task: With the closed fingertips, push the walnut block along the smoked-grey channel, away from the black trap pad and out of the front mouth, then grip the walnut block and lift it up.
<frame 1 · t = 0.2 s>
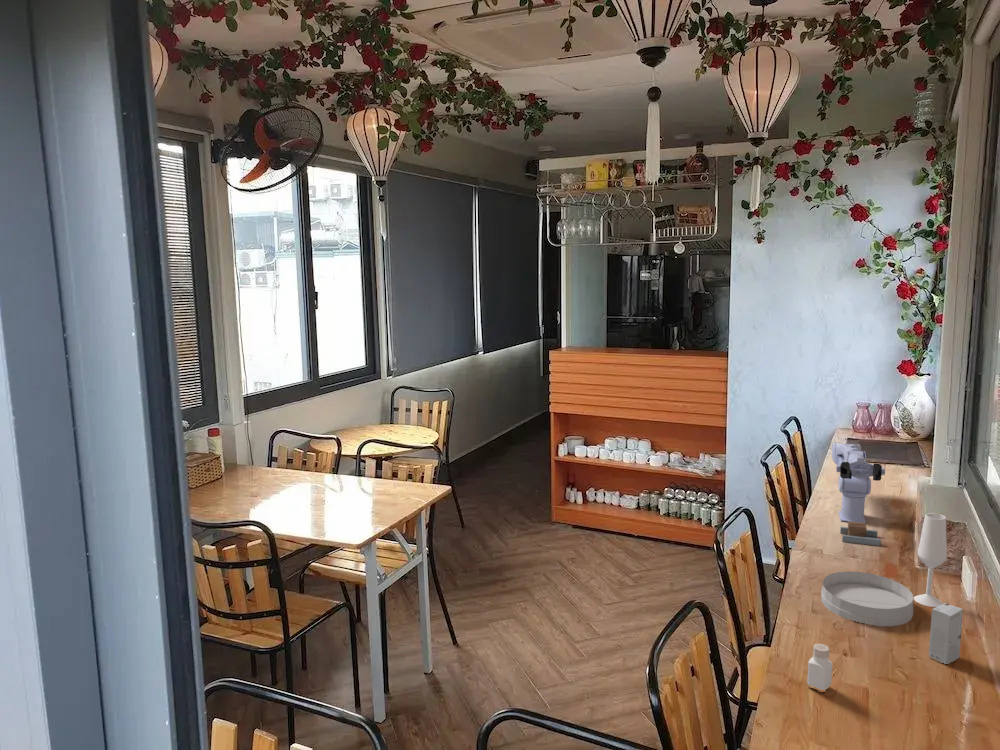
hand: (863, 476, 237), 21 cm above the bar counter, tool horizontal, fingers open, 7 cm apart
acrylic channel: (859, 539, 241), on the bar counter
dish: (865, 607, 197), on the bar counter
pepper shaker: (818, 688, 161), on the bar counter
champagne flute: (927, 601, 199), on the bar counter
skincare box: (943, 658, 172), on the bar counter
walnut block: (856, 538, 241), on the bar counter
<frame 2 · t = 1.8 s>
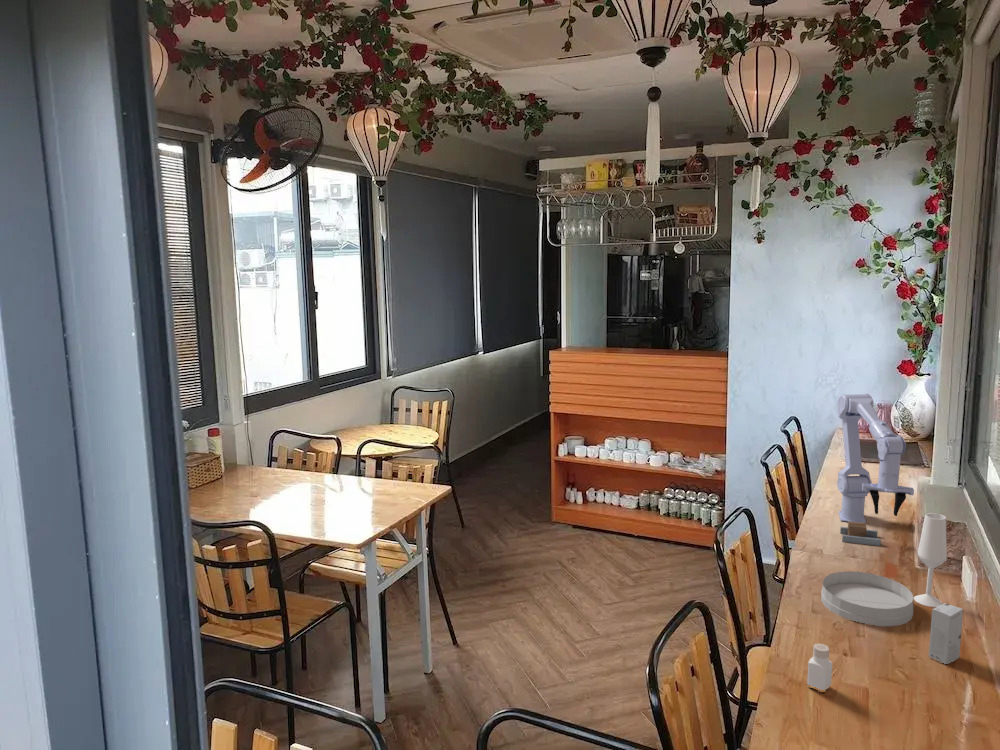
hand: (885, 513, 237), 9 cm above the bar counter, tool pointing down, fingers open, 5 cm apart
nothing on the bar counter moved.
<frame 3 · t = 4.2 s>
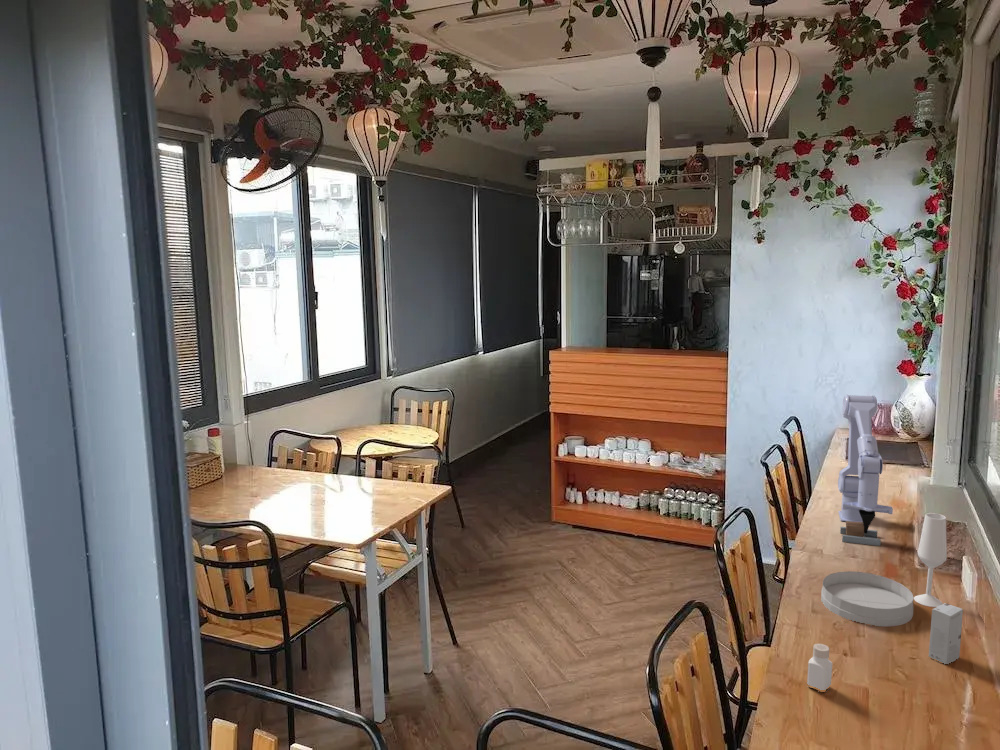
hand: (865, 532, 240), 3 cm above the bar counter, tool pointing down, fingers closed, pressing on walnut block
walnut block: (854, 538, 241), on the bar counter, touching gripper
everything else where it was.
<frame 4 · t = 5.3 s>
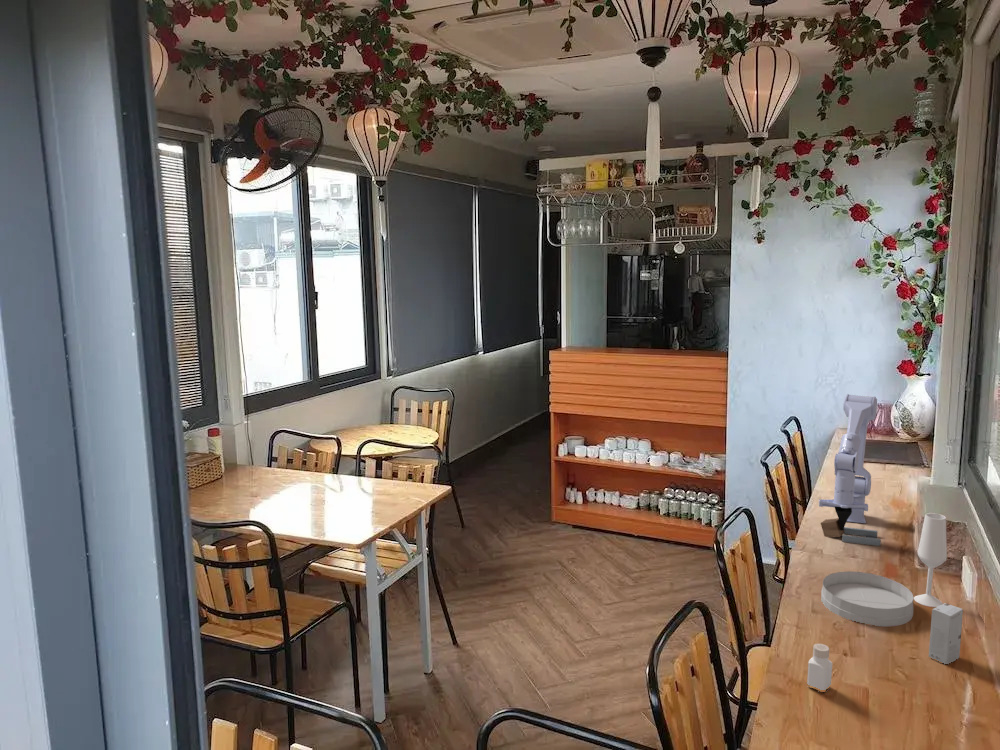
hand: (841, 529, 242), 3 cm above the bar counter, tool pointing down, fingers closed, pressing on walnut block
walnut block: (834, 535, 244), on the bar counter, tilted 20°, touching gripper
everything else where it was.
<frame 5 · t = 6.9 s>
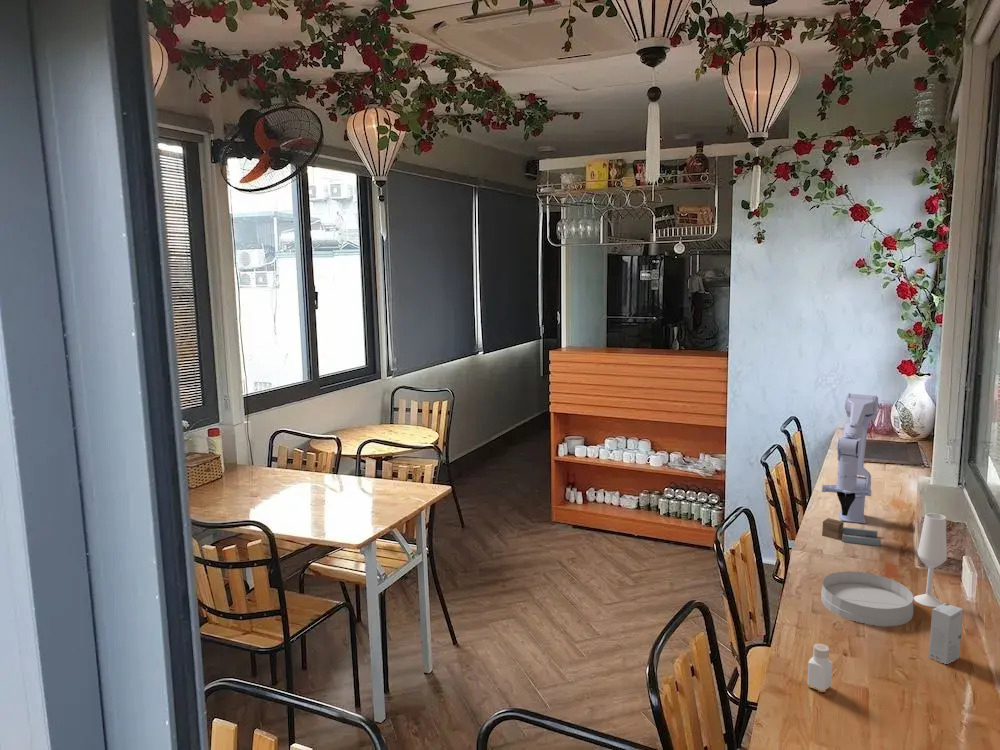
hand: (844, 514, 241), 8 cm above the bar counter, tool pointing down, fingers closed
walnut block: (832, 535, 244), on the bar counter
everything else where it was.
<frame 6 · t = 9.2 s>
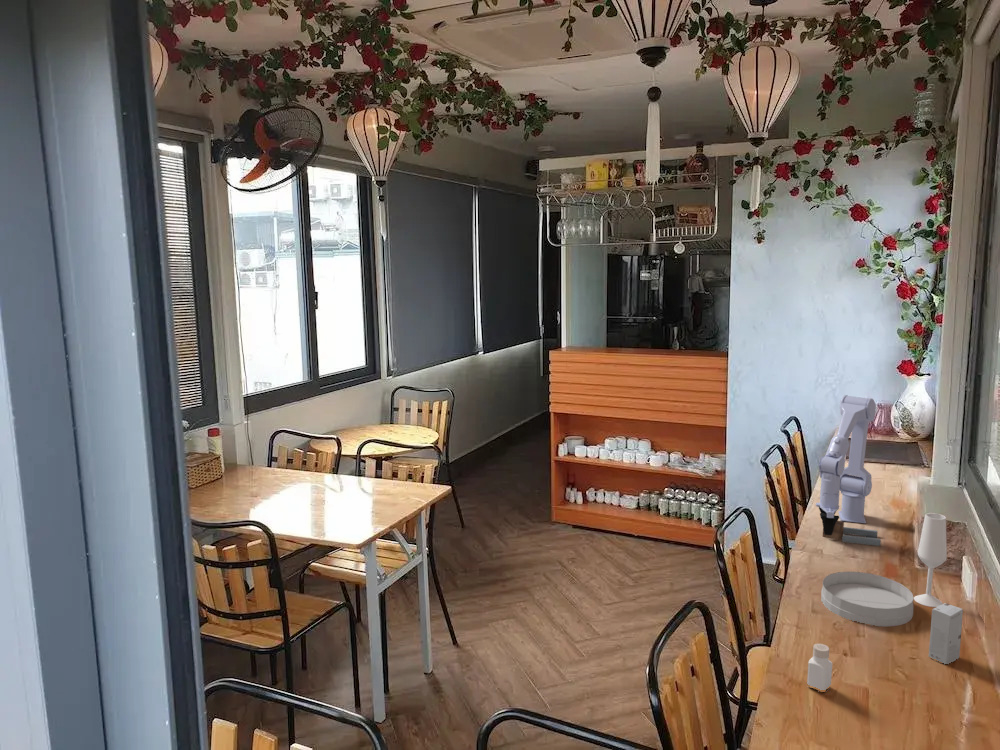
hand: (827, 531, 244), 1 cm above the bar counter, tool pointing down, fingers closed on walnut block, 5 cm apart
walnut block: (832, 536, 244), on the bar counter, touching gripper
everything else where it was.
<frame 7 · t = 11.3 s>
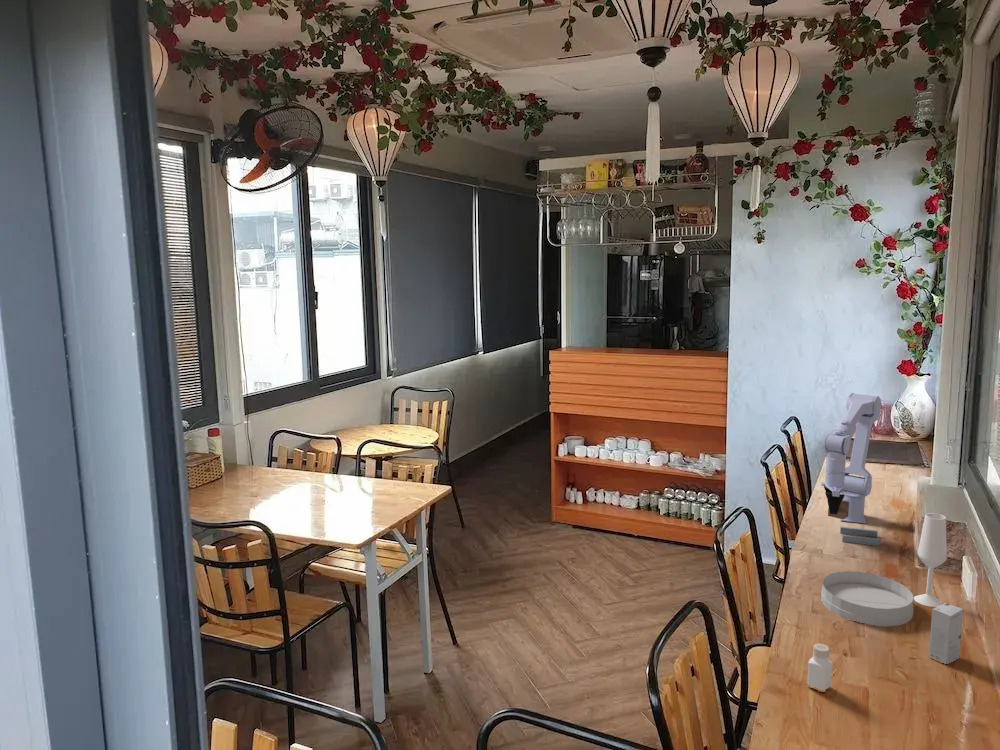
hand: (832, 510, 243), 8 cm above the bar counter, tool pointing down, fingers closed on walnut block, 5 cm apart
walnut block: (837, 516, 243), point 7 cm above the bar counter, touching gripper
everything else where it was.
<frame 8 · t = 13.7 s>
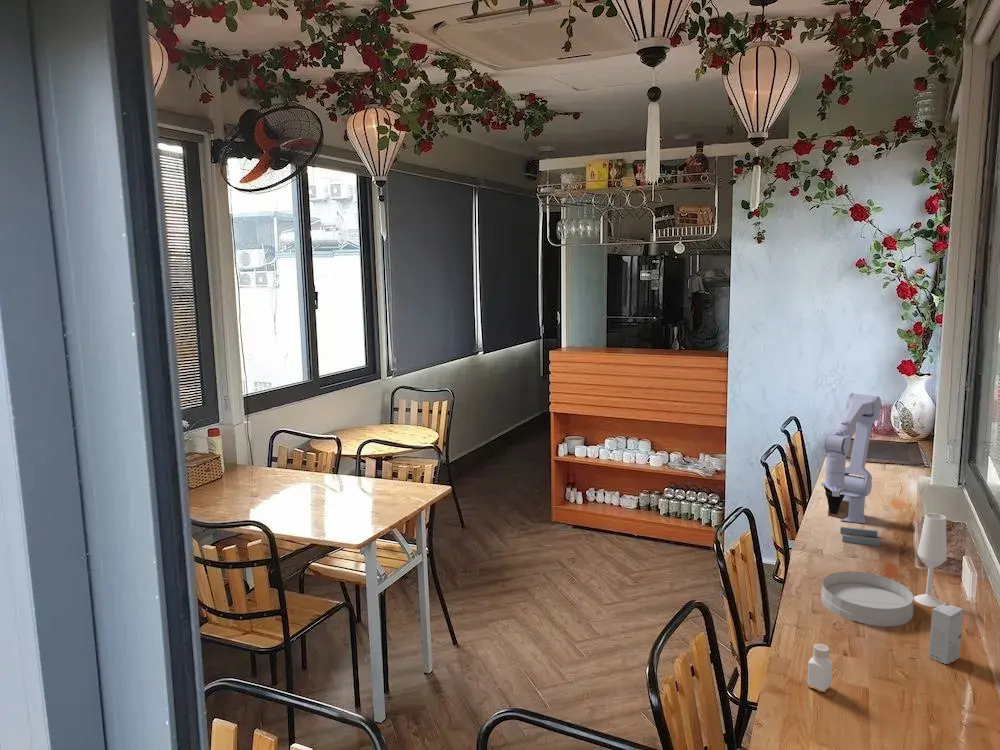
hand: (832, 510, 243), 8 cm above the bar counter, tool pointing down, fingers closed on walnut block, 5 cm apart
walnut block: (837, 516, 243), point 7 cm above the bar counter, touching gripper
everything else where it was.
at the end: the gripper is holding walnut block; walnut block point 6.9 cm above the bar counter; walnut block moved 9.1 cm from its start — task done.
